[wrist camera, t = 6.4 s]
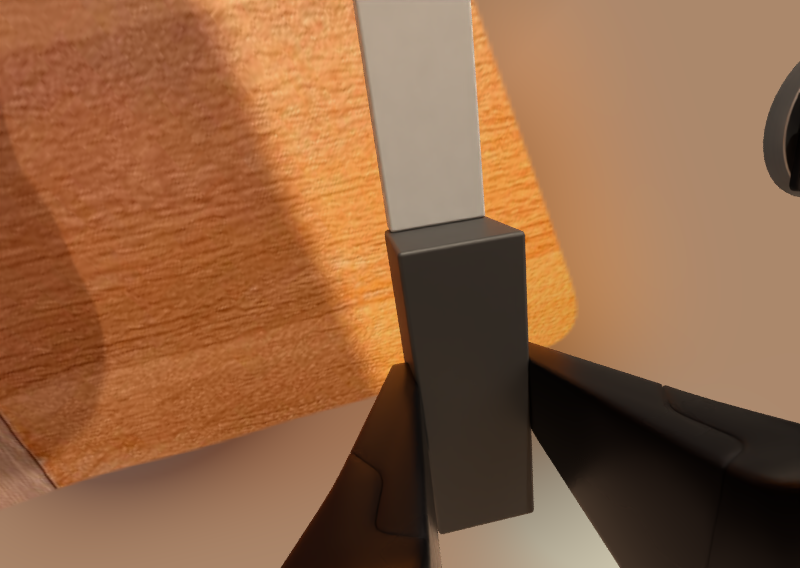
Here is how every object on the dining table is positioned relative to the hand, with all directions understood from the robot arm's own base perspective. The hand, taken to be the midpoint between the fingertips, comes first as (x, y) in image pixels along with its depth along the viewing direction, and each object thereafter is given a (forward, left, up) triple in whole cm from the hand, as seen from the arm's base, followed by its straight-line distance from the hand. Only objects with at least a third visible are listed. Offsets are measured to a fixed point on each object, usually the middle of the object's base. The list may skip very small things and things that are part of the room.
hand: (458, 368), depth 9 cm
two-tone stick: (0, -5, -1) cm, 5 cm away
